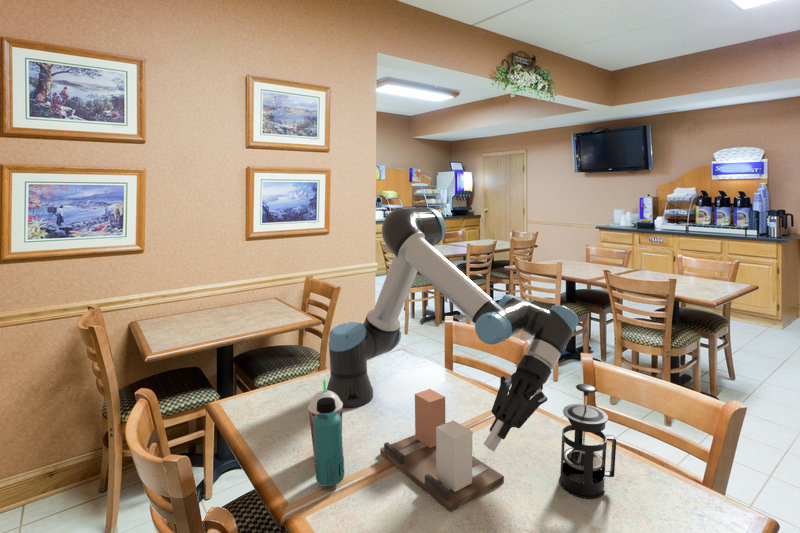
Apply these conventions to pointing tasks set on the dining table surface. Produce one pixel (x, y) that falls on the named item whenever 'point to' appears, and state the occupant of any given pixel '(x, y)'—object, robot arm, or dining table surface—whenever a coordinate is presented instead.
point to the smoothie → (313, 406)
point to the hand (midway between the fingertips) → (488, 447)
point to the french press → (585, 449)
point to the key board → (422, 470)
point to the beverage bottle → (328, 443)
